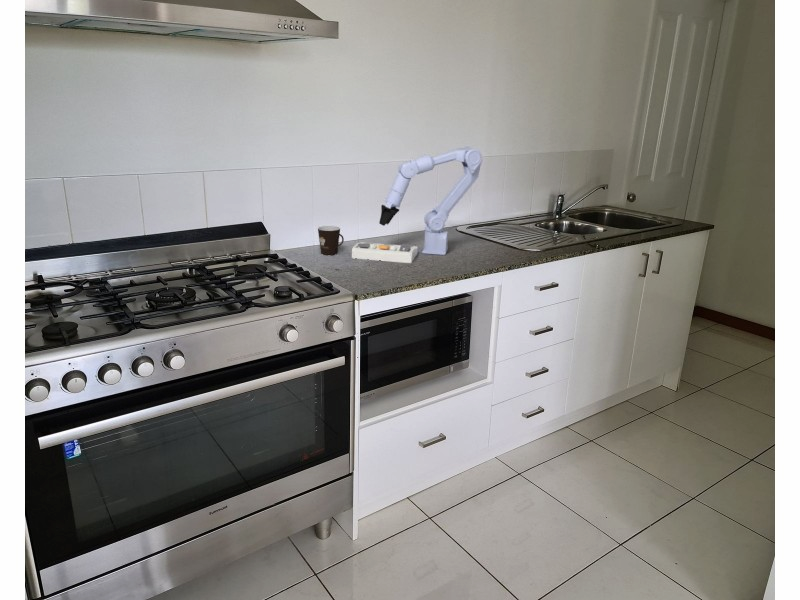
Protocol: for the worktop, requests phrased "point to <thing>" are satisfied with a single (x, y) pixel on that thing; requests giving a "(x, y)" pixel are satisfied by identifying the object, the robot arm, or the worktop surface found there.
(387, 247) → the rocker middle
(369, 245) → the rocker
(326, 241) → the coffee mug
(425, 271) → the worktop surface
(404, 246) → the rocker
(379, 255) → the power strip
